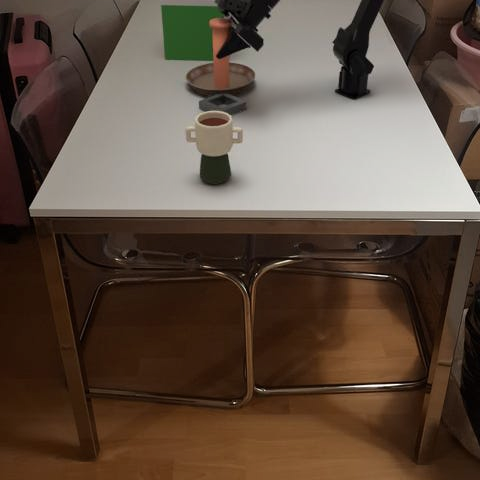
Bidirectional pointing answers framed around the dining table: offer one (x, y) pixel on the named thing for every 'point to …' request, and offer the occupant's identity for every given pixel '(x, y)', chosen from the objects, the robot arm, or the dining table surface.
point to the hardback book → (188, 29)
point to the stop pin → (219, 37)
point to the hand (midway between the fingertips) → (215, 54)
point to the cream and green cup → (214, 144)
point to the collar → (232, 101)
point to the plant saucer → (204, 79)
